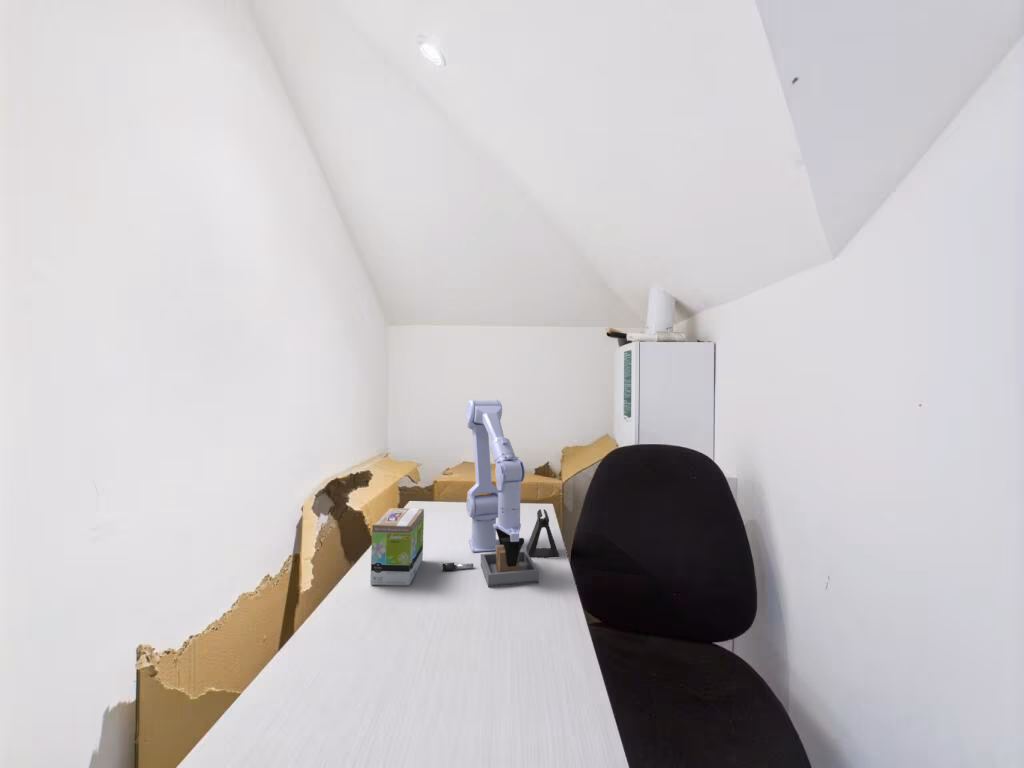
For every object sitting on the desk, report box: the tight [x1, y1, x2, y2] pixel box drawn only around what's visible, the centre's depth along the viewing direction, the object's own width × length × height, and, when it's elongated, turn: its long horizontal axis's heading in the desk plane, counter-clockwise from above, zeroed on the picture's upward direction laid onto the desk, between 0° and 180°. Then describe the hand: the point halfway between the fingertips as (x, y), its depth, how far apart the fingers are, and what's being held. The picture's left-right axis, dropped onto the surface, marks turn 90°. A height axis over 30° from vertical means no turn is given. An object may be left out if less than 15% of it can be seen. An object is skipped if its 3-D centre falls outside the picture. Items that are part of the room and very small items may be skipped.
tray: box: [480, 550, 540, 588], centre depth 109 cm, size 13×13×3 cm
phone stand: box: [526, 508, 560, 559], centre depth 122 cm, size 9×6×12 cm, turn 90°
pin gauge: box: [442, 562, 474, 572], centre depth 111 cm, size 8×2×2 cm, turn 103°
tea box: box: [369, 507, 425, 586], centre depth 109 cm, size 15×10×15 cm
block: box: [495, 544, 519, 573], centre depth 109 cm, size 5×5×6 cm
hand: (508, 559), depth 109 cm, fingers open, 7 cm apart
